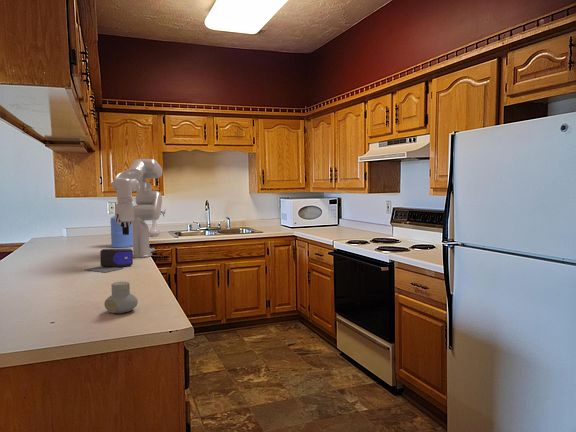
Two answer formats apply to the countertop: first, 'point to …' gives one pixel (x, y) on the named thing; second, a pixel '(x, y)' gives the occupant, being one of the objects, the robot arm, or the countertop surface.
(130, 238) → the water jug
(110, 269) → the mat
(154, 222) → the flower vase
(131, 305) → the air freshener
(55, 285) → the countertop surface
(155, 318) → the countertop surface
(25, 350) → the countertop surface
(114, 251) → the leaning round-cornered charcoal block
